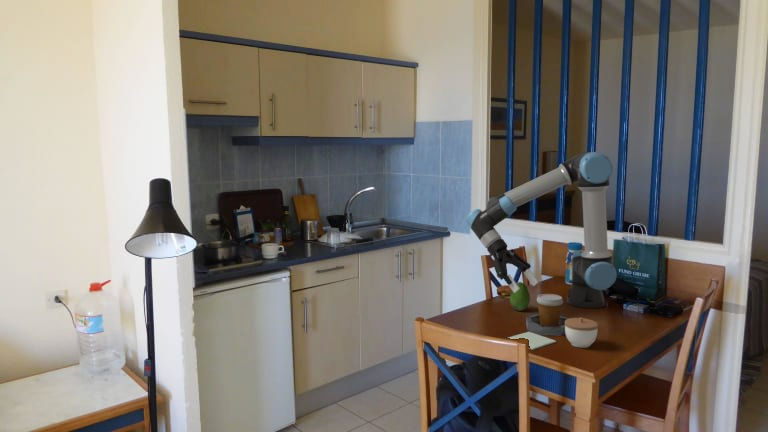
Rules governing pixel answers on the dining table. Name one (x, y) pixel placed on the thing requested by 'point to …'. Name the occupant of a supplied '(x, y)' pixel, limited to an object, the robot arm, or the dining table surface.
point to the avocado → (520, 297)
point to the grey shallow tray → (545, 330)
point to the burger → (504, 291)
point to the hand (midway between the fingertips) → (526, 287)
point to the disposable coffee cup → (549, 309)
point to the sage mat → (534, 340)
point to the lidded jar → (581, 331)
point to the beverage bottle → (571, 247)
